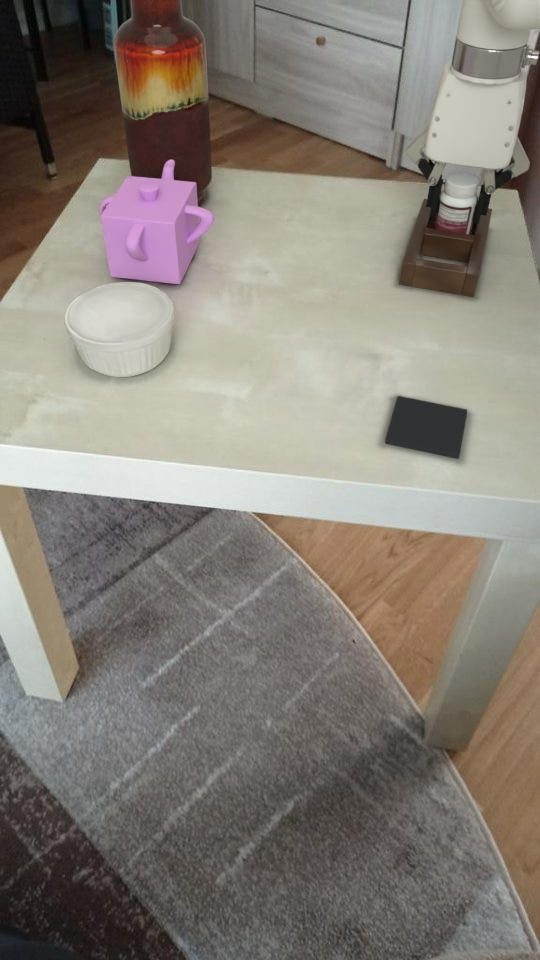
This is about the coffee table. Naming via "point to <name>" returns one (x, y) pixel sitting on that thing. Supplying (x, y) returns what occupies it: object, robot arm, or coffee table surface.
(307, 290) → the coffee table surface
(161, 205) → the teapot
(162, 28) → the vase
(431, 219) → the holder
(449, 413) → the mat
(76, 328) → the ramekin
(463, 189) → the pill bottle
